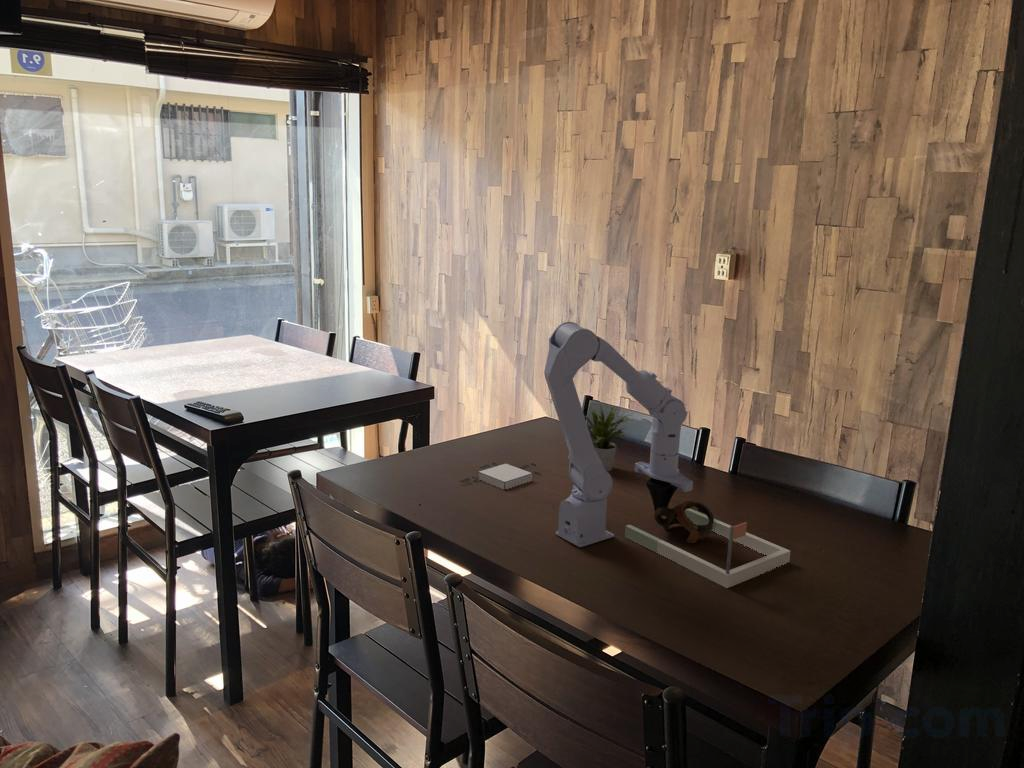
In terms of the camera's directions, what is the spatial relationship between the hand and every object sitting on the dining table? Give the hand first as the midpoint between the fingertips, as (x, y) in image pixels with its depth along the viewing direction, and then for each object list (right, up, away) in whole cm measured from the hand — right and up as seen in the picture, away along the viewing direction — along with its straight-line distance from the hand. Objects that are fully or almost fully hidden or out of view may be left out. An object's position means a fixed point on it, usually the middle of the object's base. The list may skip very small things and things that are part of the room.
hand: (660, 513), depth 168 cm
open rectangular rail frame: (+7, -6, -9) cm, 13 cm away
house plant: (-8, +5, +36) cm, 37 cm away
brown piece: (+4, -4, -2) cm, 6 cm away
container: (-34, +3, +28) cm, 44 cm away
